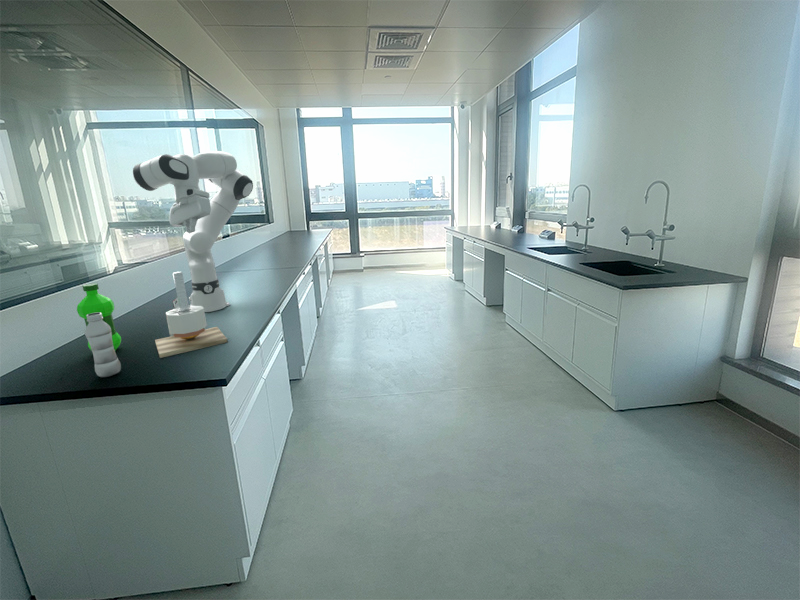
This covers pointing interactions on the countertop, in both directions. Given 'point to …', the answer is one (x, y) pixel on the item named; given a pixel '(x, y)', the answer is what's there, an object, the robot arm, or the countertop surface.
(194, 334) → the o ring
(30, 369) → the countertop surface
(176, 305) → the ink box
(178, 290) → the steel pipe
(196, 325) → the sleeve
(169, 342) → the oak base board
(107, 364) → the plastic bottle
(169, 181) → the robot arm
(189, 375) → the countertop surface
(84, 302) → the plastic bottle
